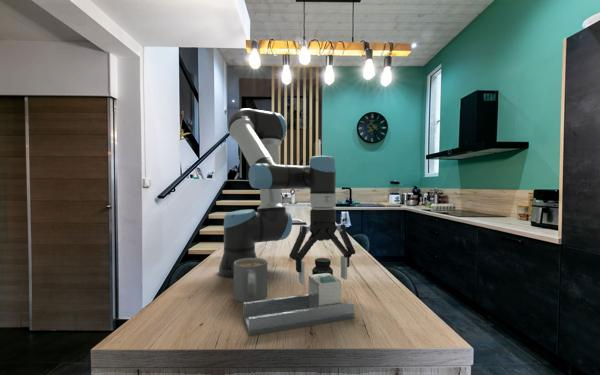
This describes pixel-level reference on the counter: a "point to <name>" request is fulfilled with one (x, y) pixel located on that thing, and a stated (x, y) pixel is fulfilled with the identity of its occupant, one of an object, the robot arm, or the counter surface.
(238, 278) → the coffee mug
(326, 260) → the pill bottle
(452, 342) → the counter surface
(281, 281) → the counter surface
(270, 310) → the rail
